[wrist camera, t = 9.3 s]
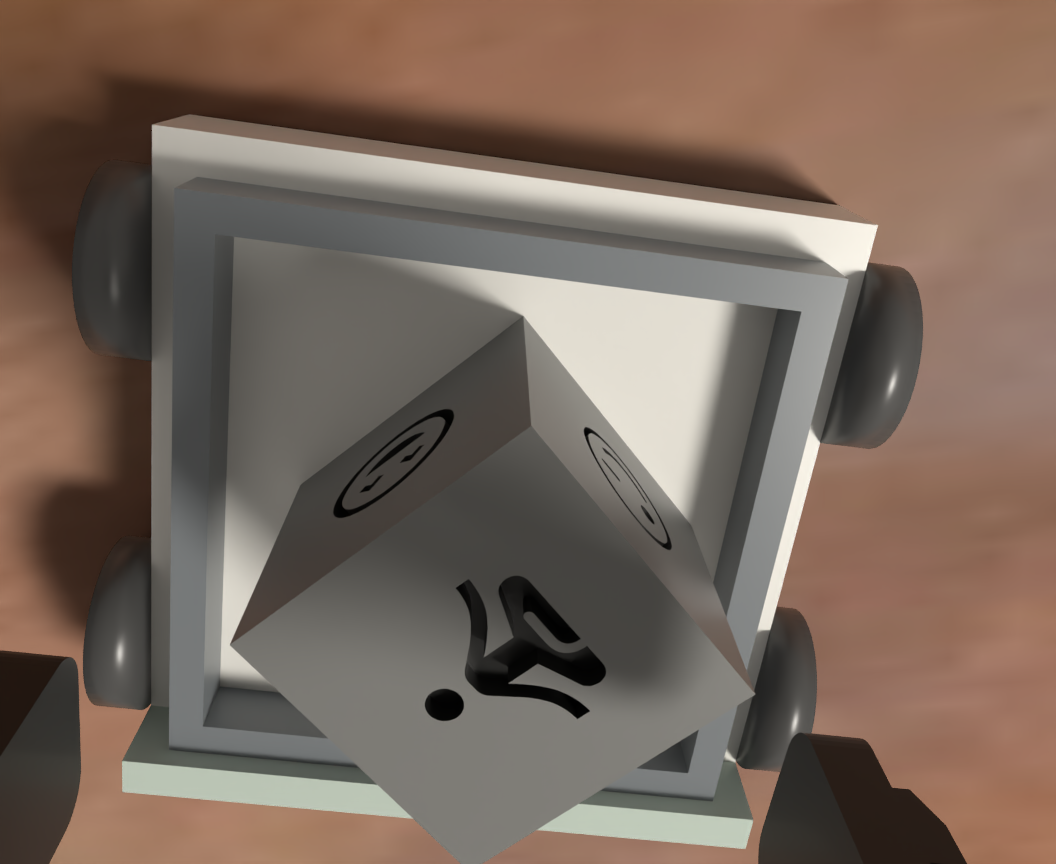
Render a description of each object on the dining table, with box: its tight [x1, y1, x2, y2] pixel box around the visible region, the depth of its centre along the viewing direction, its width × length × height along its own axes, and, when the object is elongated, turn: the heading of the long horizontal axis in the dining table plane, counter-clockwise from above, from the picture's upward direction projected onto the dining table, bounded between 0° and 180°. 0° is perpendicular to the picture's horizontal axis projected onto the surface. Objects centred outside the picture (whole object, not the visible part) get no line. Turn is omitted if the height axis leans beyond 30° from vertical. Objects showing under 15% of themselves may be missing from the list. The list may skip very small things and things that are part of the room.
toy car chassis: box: [72, 114, 923, 849], centre depth 18 cm, size 12×13×4 cm
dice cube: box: [230, 316, 755, 864], centre depth 16 cm, size 5×5×5 cm
